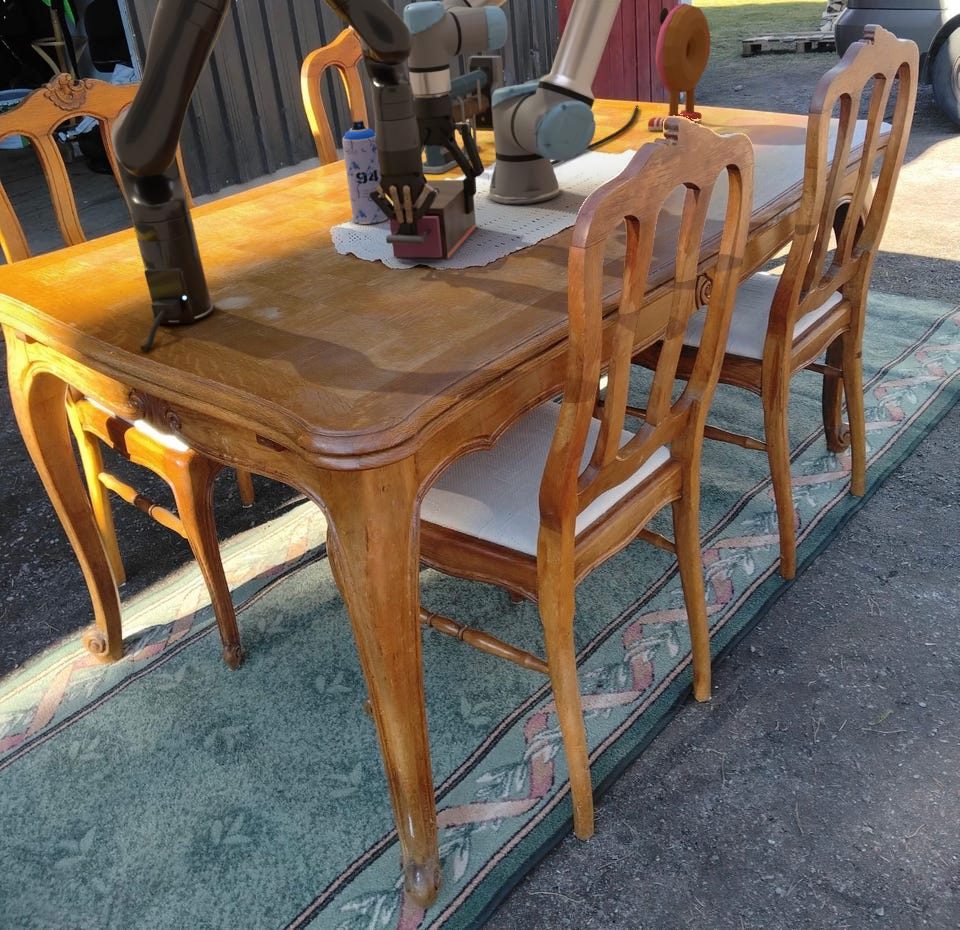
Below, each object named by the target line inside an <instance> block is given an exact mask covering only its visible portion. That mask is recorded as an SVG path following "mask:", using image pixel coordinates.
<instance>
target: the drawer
mask: <svg viewBox="0 0 960 930" xmlns="http://www.w3.org/2000/svg"><path fill="white" fill-rule="evenodd" d="M389 226H390V234H387V235H386V237H385V241H386V243H387V244H392V250H393V251H392V252H393V257H394V258H396V257H441V256H442V246H441V236H440V225H439V216H438V214H426V215H425V216H424V217H423V218H421V219H420V220H417V230H418V235H401V234H400V226H399V222H398V221H396V220H394V219H393V220H390V219H389Z"/></svg>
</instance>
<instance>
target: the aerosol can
mask: <svg viewBox="0 0 960 930" xmlns="http://www.w3.org/2000/svg"><path fill="white" fill-rule="evenodd" d="M375 139H376V137H375V130H373V129H371V128H369V127H368V126H365V123H364V120H358V121H352V127H351V128H349V130H347V131H346V132H345V134H344V136H343V137H342V150H343V157H344V163H345V170H346V179H347V185H348V192H349V198H350V204H351V205H350V206H351V214H352V217H351V218H352V219H351V220H352V222H353V223H355V224H360V225H371V224H378V223H382V222H385V221H386V220H389V218H388V217H387V216H386V215H385V214H384V213H383V212H382V210H381V209H380V208H379V207H378V206H377V205H376V203H375V202H374V201H373V200H372V199H371V198H370V193H371V192H372V191H373V190H375V189H376V188H377V187H378V186H379V181H380V178H381V173H380V168H379V160H378V152H377V145H376V142H375Z"/></svg>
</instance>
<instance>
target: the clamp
mask: <svg viewBox="0 0 960 930" xmlns="http://www.w3.org/2000/svg"><path fill="white" fill-rule="evenodd" d="M467 69H468V73H467V72H466V73H465V74H462V75H460V76H457V77H454V78H452V79H451V78H450V82H451V90H450V91H449V92H448V93H450V94H451V95H452V101H457V102H455V103H452V104H453V117H454V120H455V121H456V123H465V122H467V120H468V122H470V123H471V130H472V137H473V140H474V143H475V145H476V148H477V151H478V152H479V151H481V150H482V148H481V146H480V145H478V142H477V141H478V139H477V131H478V132H479V131H480V132H494V126H493V112H492V95H493V92H494V91H495V90H497V89H499V88H504V75H503V74H504V73H503V60H502V56H501V55H471V56H468V57H467ZM453 137H454V138H455V140H456V141H457V139H456V130H455V131H454V133H453ZM461 151H462V152H463V154H464V155H465V157H466V158H467V160H468V161H470V159H469V156H468V153H467V151H466V148H465V145H464V144H463V146H462V147H461ZM423 153H424V155H425V161H424V162H423V161H422V164H423V174H435V175H436V174H443V173H445V172H447V171H449V170H451V169H453V168H455V167H458V166H459V165H458V164H457V162H456V161H455V159H454V158H453V156H452V155H451V153H450V152H449V150H447V149H446V148H445V146H444V145H443V146H436V145H434V146H426V147H425V149H424V151H423Z"/></svg>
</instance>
